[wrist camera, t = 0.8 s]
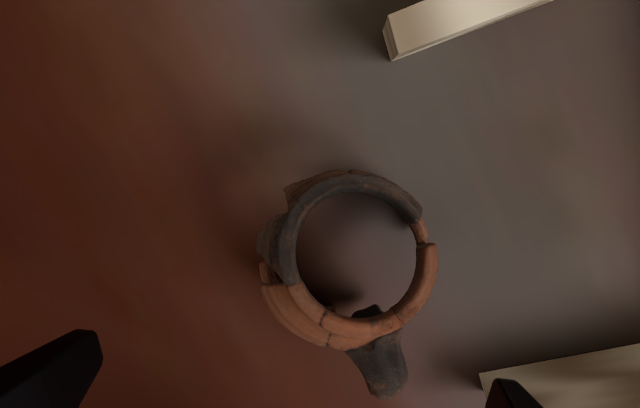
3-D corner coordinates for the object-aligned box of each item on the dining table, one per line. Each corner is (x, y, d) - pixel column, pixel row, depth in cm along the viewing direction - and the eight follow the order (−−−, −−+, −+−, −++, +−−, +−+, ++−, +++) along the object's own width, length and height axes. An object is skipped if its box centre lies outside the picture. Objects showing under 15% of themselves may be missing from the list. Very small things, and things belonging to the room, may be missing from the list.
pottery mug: (229, 228, 22) (213, 212, 14) (354, 164, 25) (402, 119, 17) (318, 400, 22) (353, 483, 14) (439, 320, 24) (531, 352, 16)
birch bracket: (483, 391, 23) (507, 449, 20) (382, 31, 18) (388, 14, 14) (763, 342, 20) (855, 399, 16) (751, -116, 14) (889, -189, 11)
